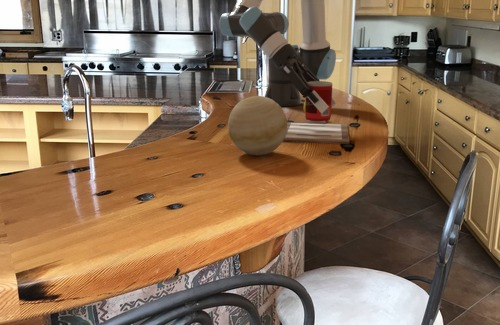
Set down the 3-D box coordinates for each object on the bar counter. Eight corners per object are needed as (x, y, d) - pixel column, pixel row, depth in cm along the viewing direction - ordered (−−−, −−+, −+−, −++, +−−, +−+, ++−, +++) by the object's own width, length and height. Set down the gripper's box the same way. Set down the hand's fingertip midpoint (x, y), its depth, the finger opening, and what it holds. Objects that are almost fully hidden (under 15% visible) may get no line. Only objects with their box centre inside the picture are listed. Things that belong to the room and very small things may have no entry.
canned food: (332, 117, 160) (334, 81, 157) (327, 122, 153) (329, 84, 150) (308, 116, 162) (309, 80, 159) (302, 120, 155) (303, 83, 152)
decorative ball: (298, 156, 132) (300, 97, 128) (248, 165, 124) (248, 102, 120) (265, 145, 144) (265, 90, 140) (217, 152, 136) (216, 94, 132)
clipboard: (285, 123, 173) (285, 119, 172) (347, 125, 170) (347, 121, 170) (277, 141, 148) (277, 136, 148) (349, 143, 145) (349, 138, 145)
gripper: (283, 57, 168) (329, 110, 166) (257, 62, 150) (309, 122, 148) (299, 41, 165) (347, 95, 163) (275, 43, 146) (328, 104, 144)
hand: (329, 107), depth 155 cm, fingers closed on canned food, 8 cm apart
